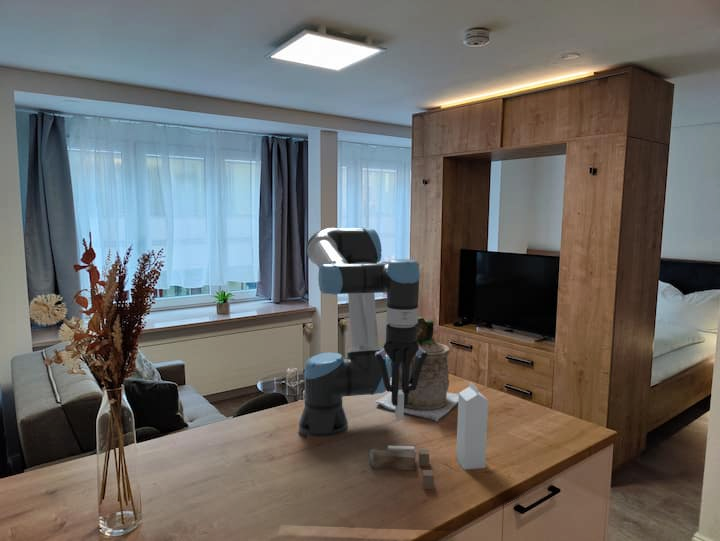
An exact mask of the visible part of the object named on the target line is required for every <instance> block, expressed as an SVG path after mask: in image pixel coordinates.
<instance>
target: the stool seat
mask: <svg viewBox="0 0 720 541" xmlns="http://www.w3.org/2000/svg"><path fill="white" fill-rule="evenodd" d="M387 450H390V451H406V452H415V446H414V445H413V446H412V445H387ZM418 465H419V467H429V466H430V451H429V449H426V448H425V449H424V448H419V449H418ZM421 472H422V473H421V474H422V475H421V484H422V489H423V490H424V489H425V490H426V489H427V490H429V489H430V490H434V486H435V485H434V484H435V483H434V482H435V475H434V470H433V469H429V470H427V469H422V471H421Z"/></svg>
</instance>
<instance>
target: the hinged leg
mask: <svg viewBox="0 0 720 541" xmlns="http://www.w3.org/2000/svg"><path fill="white" fill-rule="evenodd" d="M369 456H370V457H369V466H370V467H371V468H374V469H386V470H399V471H400V470H402V471H414V472H415V471H416V452H415V451H414V452H406V451H390V450H388V449H377V448H372V449H370V450H369Z"/></svg>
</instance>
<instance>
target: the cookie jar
mask: <svg viewBox="0 0 720 541" xmlns="http://www.w3.org/2000/svg"><path fill="white" fill-rule="evenodd" d="M434 323H435V322H434V321H433V320H431V319H427V318H426V317H422V316H418V323H417V324H416V325H417V327H418V329H417V344H418V346H419V348H420V349H421V350H424V351H425V352H426V353H427V354H428V356H427V357H426V359H425V360H424V362H423V365H422V368H421V372H420V376H419V379H418V383H417V386H416V389H415V390H411V391H409V394H408V404H407V405H404V414H408V415H413V416H417V417H421V418H424V419H425V418H426V419H430V420H433V421H435V422H437V421H438V422H439V419H441V418H443V416H445V415H447V413H449V412H450V411H451V409H452V408H454V407H455V406H456V405H458V398H459V393H453V392H448V391H449V388H450V387H449V386H450V380H449V376H450V372H449V365H448V356H449V354H450V352H451V350H450V348H449V346H448V345H446V344H442V343H439V342H437V341H435V340H434V339H435V338H433V336H434V329H435V328H434ZM416 353H417V352H416ZM416 357H417V356H416V354H415V355H414V356H413V358H412V359H411V360H410V367H409V381H410V378H411V374H412V371H413V367H414V363H415V360H416ZM390 362H391V369H392V361H390ZM398 390H402V362H400V367H399V387H398ZM391 400H392V392H390V391H389V392H388V393H387V394H386V395H384V396H383V397H380V398H378V399H376V400H375V401H374V402H375V403H376V404H377V405H380V406H381V407H384V408H385V409H387V410H389V411H395V406H393V404H392V402H391Z"/></svg>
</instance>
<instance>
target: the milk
mask: <svg viewBox="0 0 720 541" xmlns="http://www.w3.org/2000/svg"><path fill="white" fill-rule="evenodd" d="M458 394H459V398H458V403H457V405H458V406H457V425H456V426H457V428H456V429H457V430H456V433H457V434H456V451H455V452H456V454H455V456H456V457H455V458H456V461H458V463H459V464H460V466H461V467H462V469H463V470H474V469H475V470H477V469H485V468H486V458H487V457H486V455H487V434H488V416H489V414H488V413H489V411H488V410H489V399H487V397H485V396H484V394H482V393H481V392H480V391H479V388H478V386H477V387H476V386H475V384H473V383H472V382H471V381H469V383H468V387H466V388H464V389H463V390H461V391H459V392H458Z"/></svg>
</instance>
